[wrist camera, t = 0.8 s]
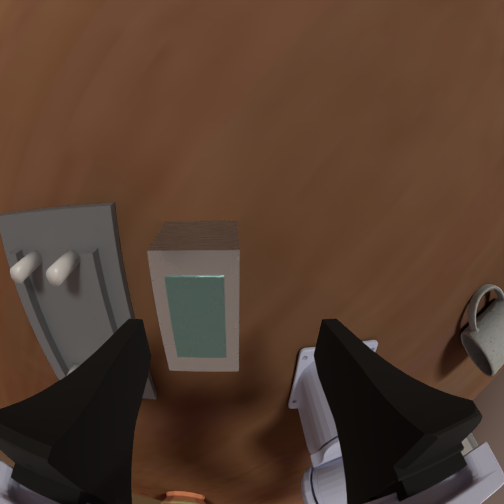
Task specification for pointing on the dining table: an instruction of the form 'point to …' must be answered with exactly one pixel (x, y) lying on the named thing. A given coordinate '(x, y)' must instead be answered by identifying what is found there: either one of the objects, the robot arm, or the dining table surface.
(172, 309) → the block
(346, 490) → the robot arm
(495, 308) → the ceramic mug
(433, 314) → the dining table surface
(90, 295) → the grooved peg plate
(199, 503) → the potted cactus
